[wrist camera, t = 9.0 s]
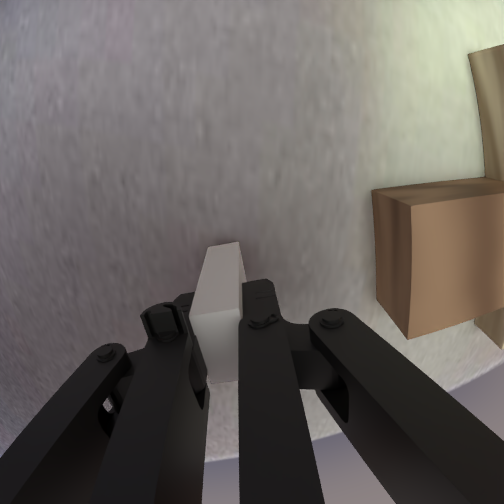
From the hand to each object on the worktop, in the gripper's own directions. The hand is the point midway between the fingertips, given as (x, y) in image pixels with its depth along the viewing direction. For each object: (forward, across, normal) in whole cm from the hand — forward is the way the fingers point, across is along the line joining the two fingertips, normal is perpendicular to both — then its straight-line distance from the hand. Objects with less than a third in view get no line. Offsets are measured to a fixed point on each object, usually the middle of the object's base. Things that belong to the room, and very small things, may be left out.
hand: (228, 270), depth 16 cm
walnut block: (+3, +13, -1) cm, 13 cm away
